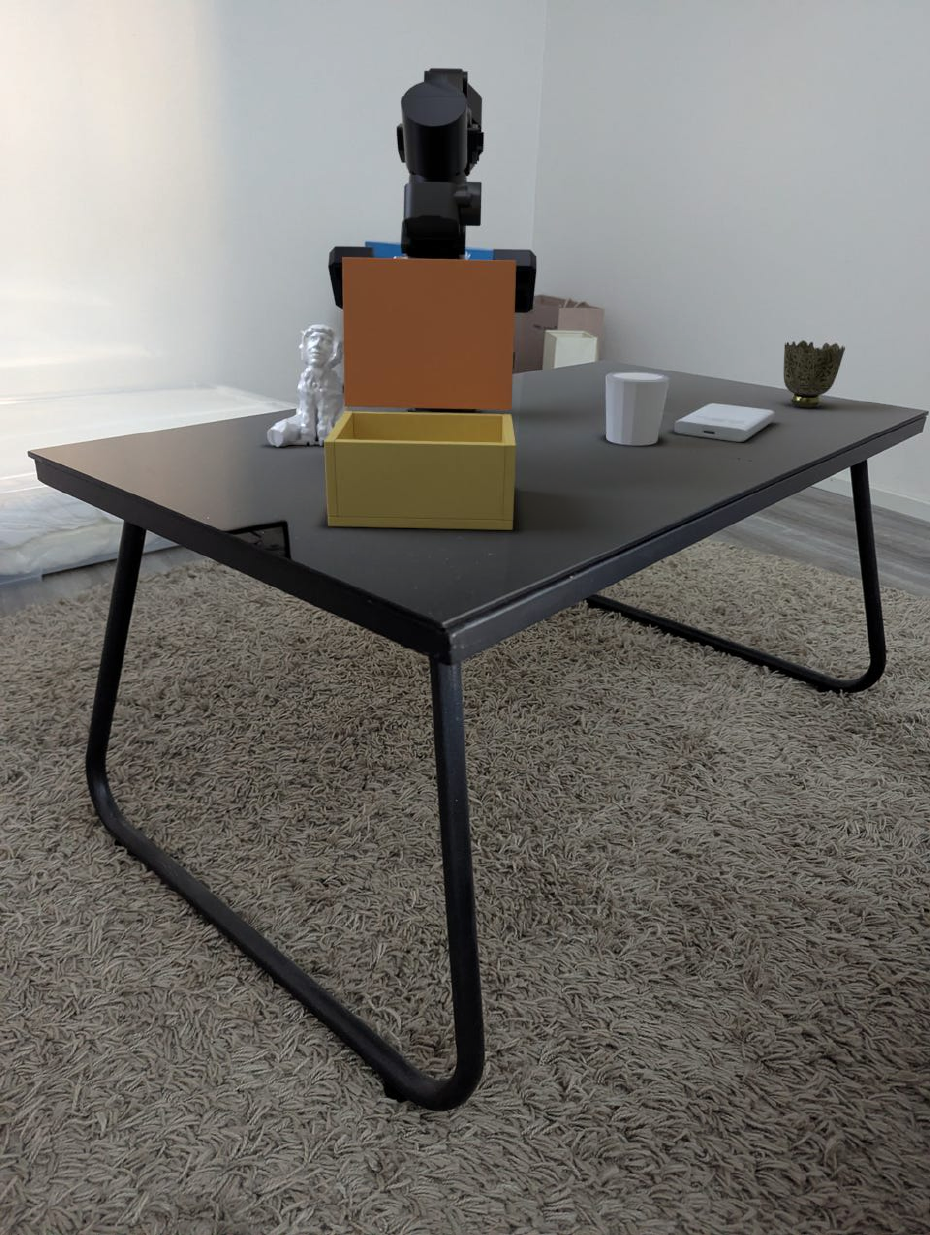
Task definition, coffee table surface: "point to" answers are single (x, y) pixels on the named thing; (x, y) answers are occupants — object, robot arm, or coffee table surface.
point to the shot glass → (634, 406)
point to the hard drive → (724, 422)
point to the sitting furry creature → (315, 391)
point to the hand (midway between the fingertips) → (430, 354)
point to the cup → (810, 371)
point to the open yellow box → (421, 470)
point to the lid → (428, 333)
